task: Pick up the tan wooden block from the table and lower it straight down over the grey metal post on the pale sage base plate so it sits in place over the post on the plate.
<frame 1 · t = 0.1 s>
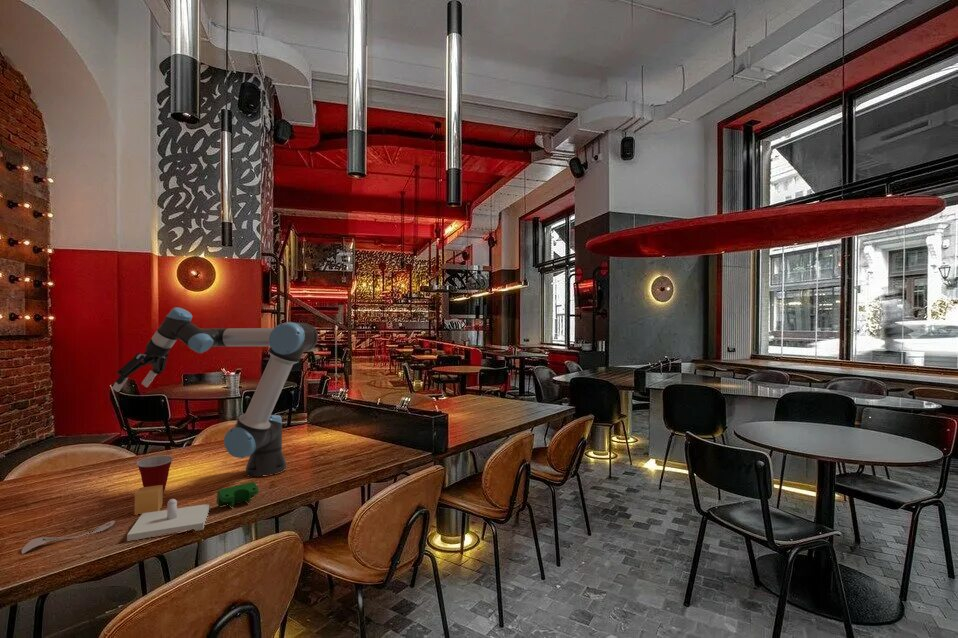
hand: (130, 387, 177), 36 cm above the table, tool tilted 35°, fingers open, 13 cm apart
tan wooden block: (148, 510, 146), on the table
clamp: (238, 505, 151), on the table
plastic cup: (154, 493, 162), on the table
stirrer: (71, 540, 127), on the table
base plate: (171, 524, 136), on the table
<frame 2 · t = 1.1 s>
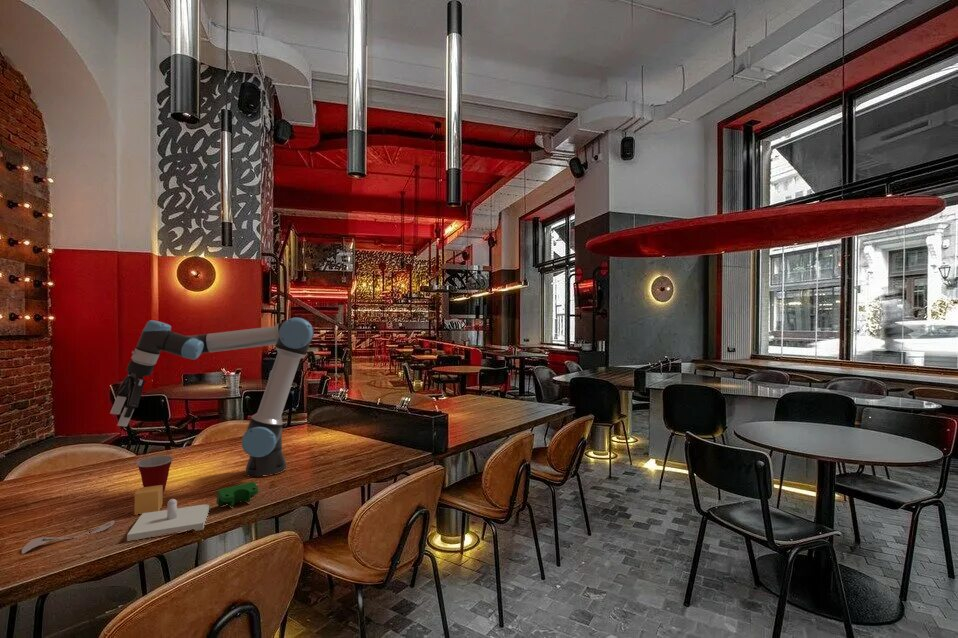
hand: (118, 419, 160), 27 cm above the table, tool tilted 20°, fingers open, 13 cm apart
nothing on the table moved.
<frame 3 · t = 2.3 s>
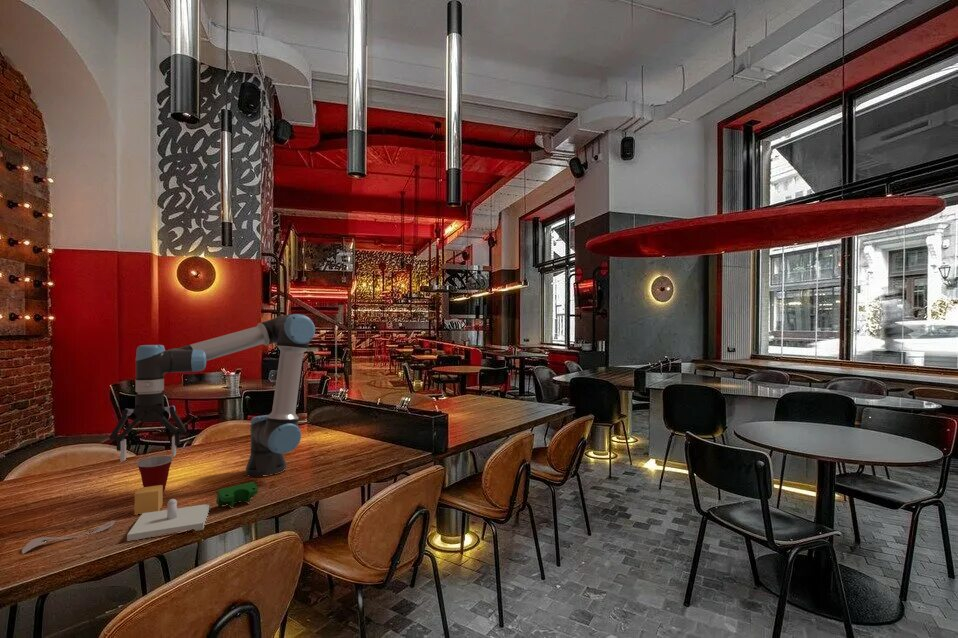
hand: (149, 458, 147), 17 cm above the table, tool pointing down, fingers open, 13 cm apart
nothing on the table moved.
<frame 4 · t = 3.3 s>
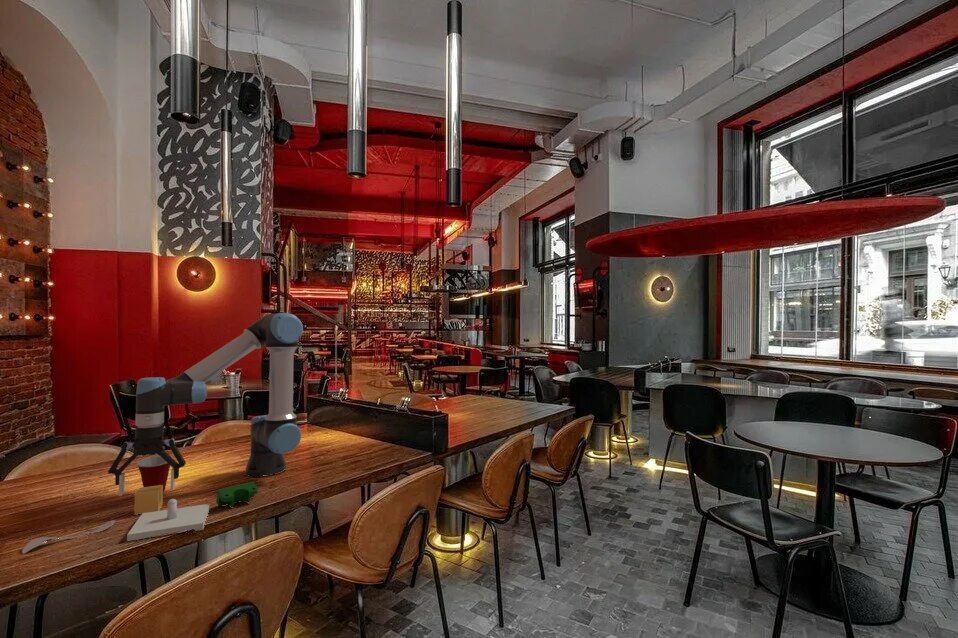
hand: (147, 491, 146), 6 cm above the table, tool pointing down, fingers open, 13 cm apart
nothing on the table moved.
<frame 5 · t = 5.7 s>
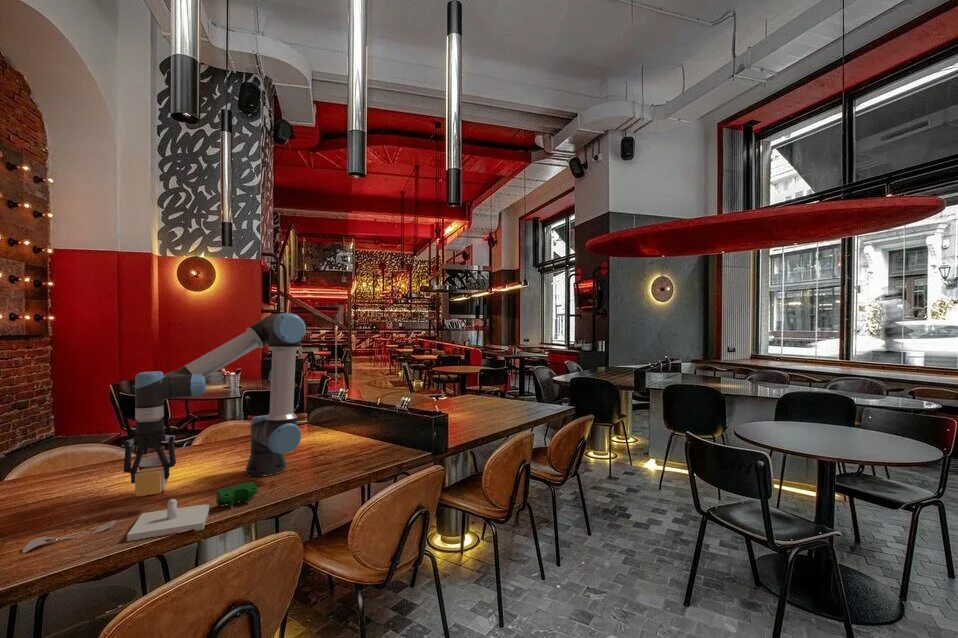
hand: (150, 490, 147), 6 cm above the table, tool pointing down, fingers closed on tan wooden block, 6 cm apart
tan wooden block: (150, 491, 147), point 6 cm above the table, touching gripper
everything else where it was.
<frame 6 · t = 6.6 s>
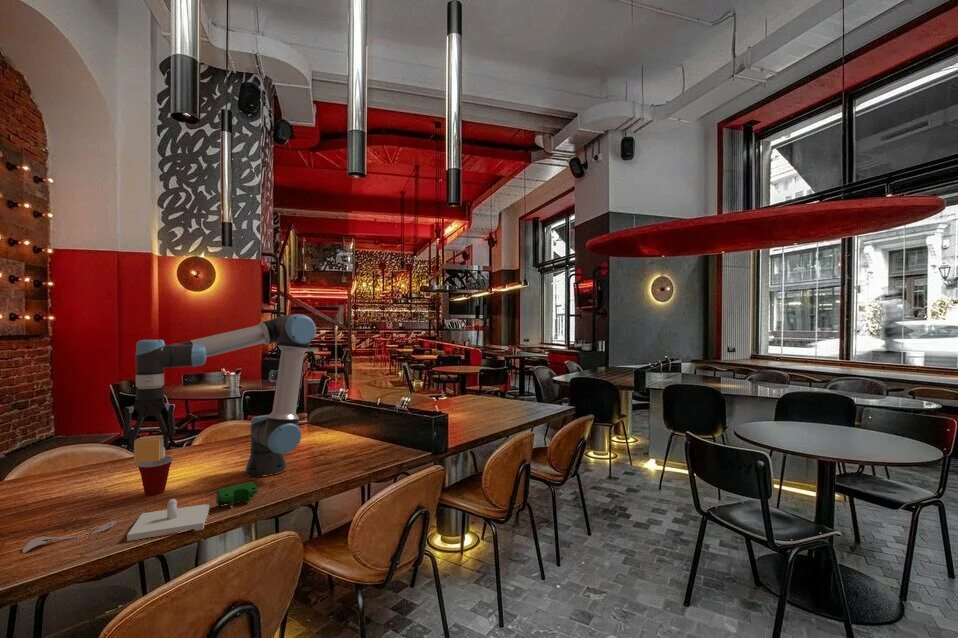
hand: (149, 458, 147), 17 cm above the table, tool pointing down, fingers closed on tan wooden block, 6 cm apart
tan wooden block: (149, 459, 147), point 16 cm above the table, touching gripper
everything else where it was.
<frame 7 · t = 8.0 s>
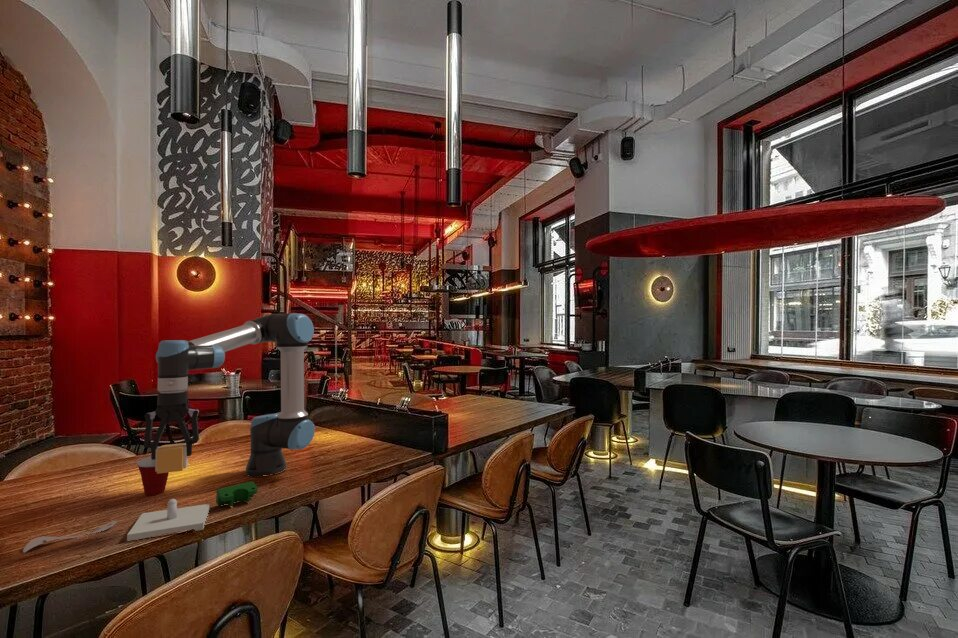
hand: (171, 468, 136), 17 cm above the table, tool pointing down, fingers closed on tan wooden block, 6 cm apart
tan wooden block: (171, 469, 136), point 16 cm above the table, touching gripper
everything else where it was.
when the fingers open (3 cm above the table, at t = 10.7 s): tan wooden block stays where it is, resting on base plate.
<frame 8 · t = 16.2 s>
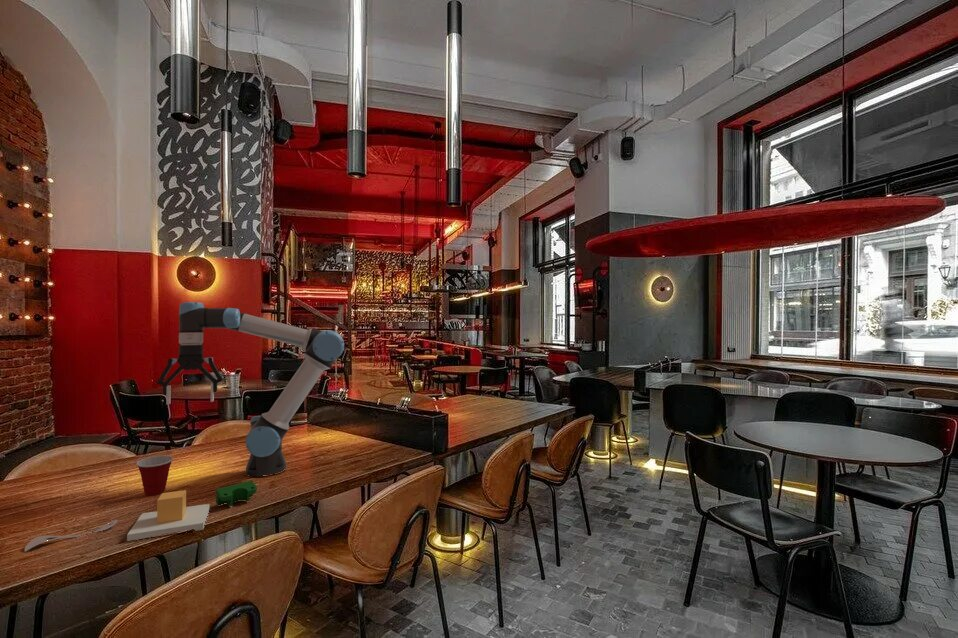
hand: (190, 402, 165), 32 cm above the table, tool pointing down, fingers open, 13 cm apart
tan wooden block: (171, 517, 136), point 2 cm above the table, touching base plate
at the end: tan wooden block 0.0 cm from the base plate (horizontally); tan wooden block point 2.0 cm above the table; tan wooden block tilted 0° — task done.
